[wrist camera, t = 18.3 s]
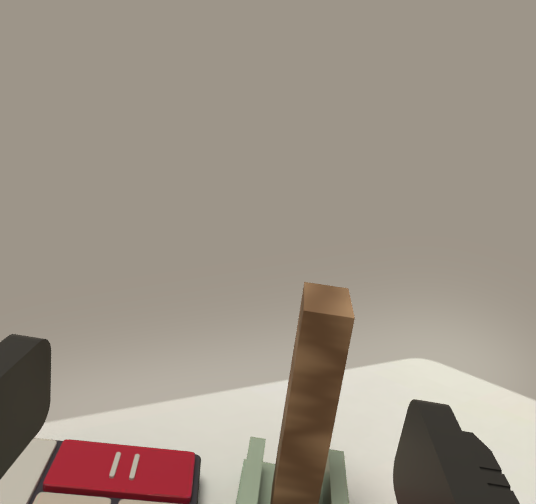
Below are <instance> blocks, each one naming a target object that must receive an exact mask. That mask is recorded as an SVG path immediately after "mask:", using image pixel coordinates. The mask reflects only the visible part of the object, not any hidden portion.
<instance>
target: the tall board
mask: <svg viewBox="0 0 536 504" xmlns="http://www.w3.org/2000/svg"><path fill="white" fill-rule="evenodd" d="M353 324H354V313H353V308H352V304H351V299H350V295H349V290H348V288H341V287H334V286H327V285H321V284H314V283H307V282H304V288H303V295H302V301H301V307H300V314H299V320H298V326H297V333H296V338H295V345H294V351H293V357H292V364H291V370H290V376H289V382H288V389H287V395H286V401H285V407H284V414H283V420H282V426H281V433H280V439H279V445H278V451H277V458H276V464H275V470H274V477H273V483H272V491H271V501H270V504H319V499H320V494H321V489H322V483H323V478H324V473H325V468H326V463H327V458H328V452H329V447H330V442H331V437H332V432H333V427H334V422H335V416H336V411H337V406H338V401H339V396H340V391H341V385H342V380H343V375H344V370H345V364H346V360H347V355H348V349H349V344H350V339H351V333H352V329H353Z"/></svg>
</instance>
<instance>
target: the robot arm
mask: <svg viewBox="0 0 536 504" xmlns="http://www.w3.org/2000/svg"><path fill="white" fill-rule="evenodd" d="M50 383H51V346H50V343H49V341H48V340H46V339H40V338H35V337H28V336H22V335H16V334H12V335H9V336H8V337H6V338H5V339H4V340H3V341H2V342H0V479H1V478H2V477H3V476H4V474H5V473H6V472H7V471H8V469H9V468H10V467H11V466H12V465H13V463H14V462H15V461H16V460H17V458H18V457H19V456H20V455H21V453H22V452H23V451H24V450H25V448H26V447H27V446H28V445H29V443H30V442H31V441H32V440H33V438H34V437H35V436H36V435H37V433H38V432H39V431H40V429H41V428H42V426H43V424H44V422H45V420H46V417H47V414H48V411H49V407H50V385H51V384H50ZM393 484H394V491H395V495H396V499H397V503H398V504H520V503H519V501H518V500H517V498H516V496H515V494H514V492H513V491H511V490H510V485H509V483H508V481H507V479H506V477H505V475H504V474H502V470H501V468H500V466H499V464H498V462H497V461H496V459H495V457H494V455H493V453H492V451H491V450H490V449H489V448H488V447H487V446H486V445H485V444H484V443H483V442H482V441H481V440H479V439H478V438H477V437H476V436H475V435H474V434H473V433H471V432H465V431H462V430H461V428H460V426H459V424H458V422H457V420H456V418H455V416H454V413H453V411H452V409H451V408H450V406H449V405H446V404H440V403H434V402H427V401H421V400H415V399H414V400H412V401H411V402H410V404H409V407H408V410H407V414H406V418H405V422H404V425H403V429H402V433H401V437H400V441H399V445H398V449H397V452H396V456H395V461H394V469H393Z"/></svg>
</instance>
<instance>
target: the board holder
mask: <svg viewBox="0 0 536 504" xmlns="http://www.w3.org/2000/svg"><path fill="white" fill-rule="evenodd" d="M265 440H266V439H262V438H256V437H250V443H249V449H248V454H247V459H244V462H243V468H242V473H241V479H240V484H239V490H238V495H237V501H236V504H270V501H271V491H272V483H273V477H274V470H275V464H271V463H265V462H263V455H264V448H265ZM319 504H349V500H348V490H347V480H346V470H345V460H344V452H343V451H337V450H331V449H329V452H328V458H327V463H326V468H325V473H324V478H323V483H322V489H321V494H320V499H319Z"/></svg>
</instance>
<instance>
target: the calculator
mask: <svg viewBox="0 0 536 504" xmlns="http://www.w3.org/2000/svg"><path fill="white" fill-rule="evenodd" d="M200 464H201V458H200V456H198V455H196V454H195V453H193V452H188V451H178V450H168V449H158V448H148V447H138V446H129V445H119V444H109V443H99V442H89V441H79V440H64V441H57V440H49V439H39V438H33V440H32V441H31V442H30V443H29V445H28V446H27V447H26V448H25V450H24V451H23V452H22V453H21V455H20V456H19V457H18V458H17V460H16V461H15V462H14V463H13V465H12V466H11V467H10V468H9V469H8V471H7V472H6V473H5V474H4V476H3V477H2V478H1V479H0V504H197V502H198V490H199V477H200Z"/></svg>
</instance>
